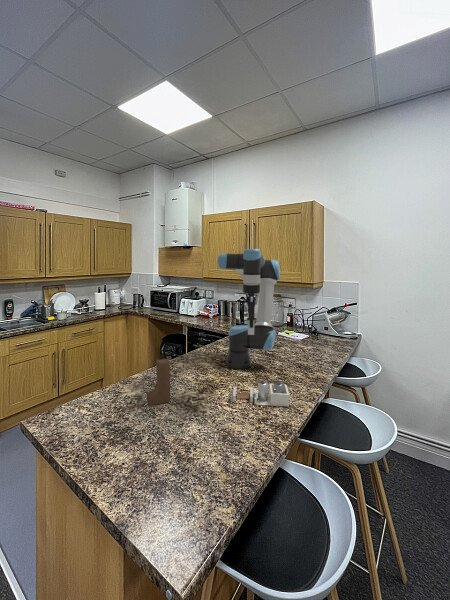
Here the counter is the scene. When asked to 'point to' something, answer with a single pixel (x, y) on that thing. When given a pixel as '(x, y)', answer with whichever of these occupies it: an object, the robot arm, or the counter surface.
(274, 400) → the rack
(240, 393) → the plate
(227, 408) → the counter surface
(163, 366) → the wooden block
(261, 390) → the cell
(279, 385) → the cell
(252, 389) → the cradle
